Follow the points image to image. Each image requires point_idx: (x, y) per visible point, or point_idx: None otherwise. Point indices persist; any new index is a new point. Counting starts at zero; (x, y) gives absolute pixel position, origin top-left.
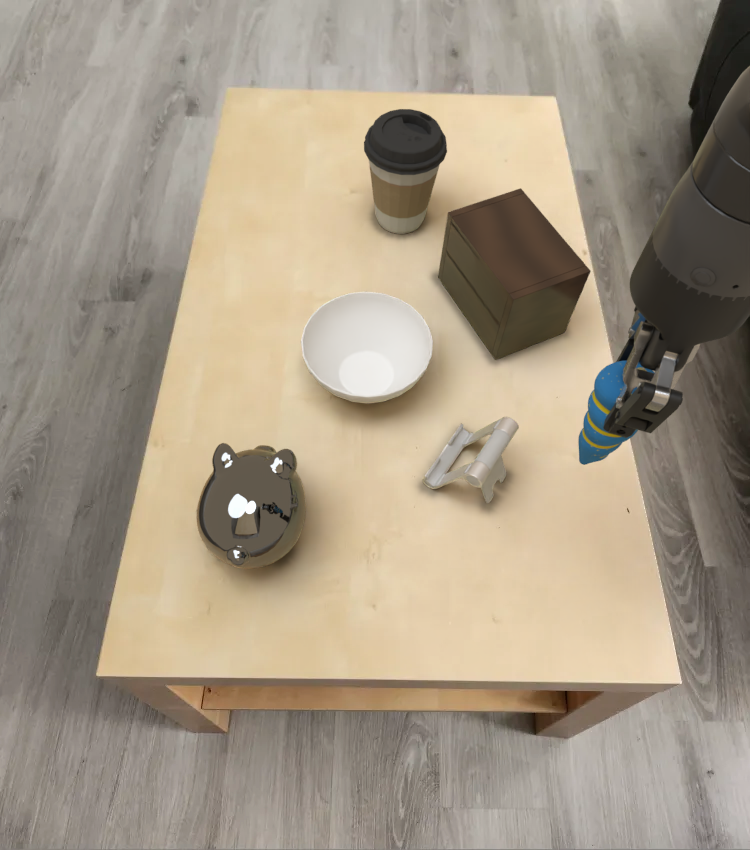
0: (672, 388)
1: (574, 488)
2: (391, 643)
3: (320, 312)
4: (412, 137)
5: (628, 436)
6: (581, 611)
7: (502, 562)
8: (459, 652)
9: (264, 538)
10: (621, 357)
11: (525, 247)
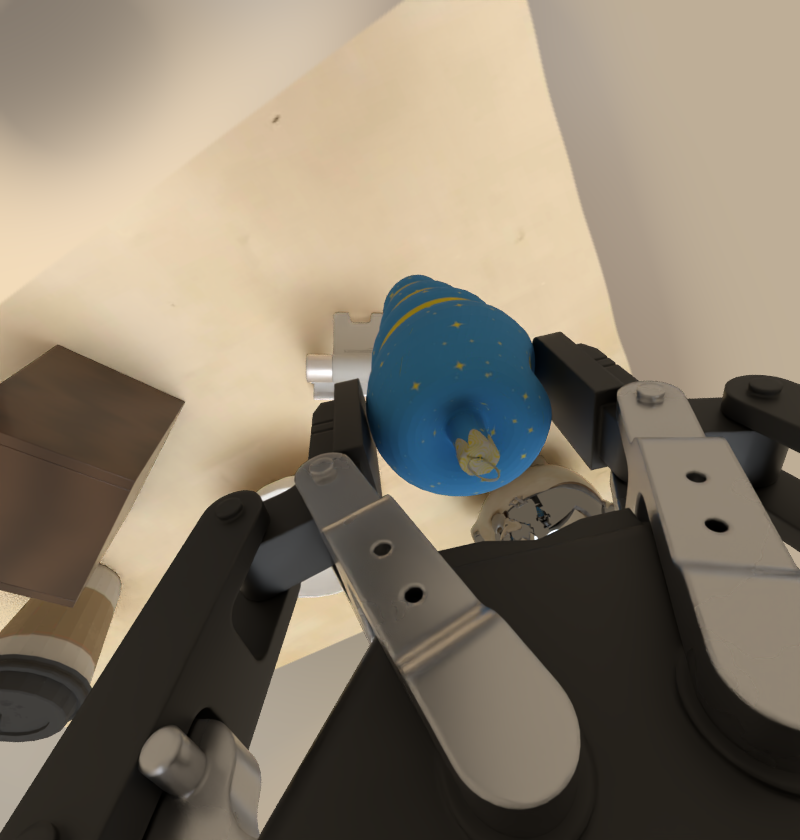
0: (730, 454)
1: (294, 217)
2: (584, 327)
3: (305, 591)
4: (11, 707)
5: (597, 349)
6: (465, 128)
7: (448, 261)
8: (571, 257)
9: (593, 510)
10: (379, 474)
11: (22, 512)
